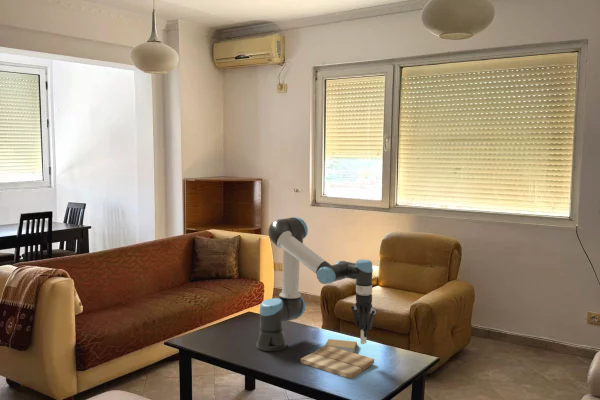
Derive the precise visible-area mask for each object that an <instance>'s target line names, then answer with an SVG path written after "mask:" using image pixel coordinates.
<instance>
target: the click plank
mask: <svg viewBox="0 0 600 400" xmlns="http://www.w3.org/2000/svg"><path fill="white" fill-rule="evenodd" d="M312 353H314V354H317V355H321V356H324V357H327V358H331V359H334V360H337V361H340V362H344V363H347V364H350V365H354V366H357V367H360V368H362V372H361V373H363V372H364V371H365V370H367V369H368V368H369V367H371V366H372V365H374V364H375V358H372V357H370V356H369V357H368V356H365V355H362V354H358V353H355V352H354V353H352V352H348V351H345V350H341V349H338V348H334V347H331V346H327V345H325V344H324V345H323V346H321V347H319V348H318V349H317V350H315V351H313V352H312Z"/></svg>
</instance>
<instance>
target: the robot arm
mask: <svg viewBox="0 0 600 400" xmlns="http://www.w3.org/2000/svg"><path fill="white" fill-rule="evenodd" d="M267 230H268V232H267V234H268V236H269V237H268V238H269V239H270V241H271V242H272V243H273V244H274V246H276V247H277V248H279V249H282V251H283V252H282V283H281V284H282V285H281V287H282V288H281V290H282V291H281V292H280V293H279V294H278V295H279V296H278V297H275V298H274V297H273V298H267V299H264V300H263V301H261V303H260V305H259V311H258V313H259V334H258V336H257V340H256V348H257V349H258V350H260V351H263V352H277V351H281V350H284V349H286V347H287V340H286V338H285V332H284V328H283V327H284V323H287V322H290V321H293V320H296V319H298V318H300V317H302V316H303V315H304V313H305V311H306V302H305V301H304V300H305V299H304V297H302V293H300V291H299V287H300V285H299V284H300V282H299V281H300V263H301V264H303V265H304V266H305V267H306V268H308V269H309V270H310V271H312V272H313V273H314V274H316V279H317V280H318V282H319V283H320V284H323V285H326V284H327V285H328V284H332V283H334V282H338V281H341V280H345V279H351V280H355V293H356V294H355V304H354V305H352V306H351V307H350V309H351V311H352V314H353V320H354V324H355V328H358V331H359V332H358V335H359V336H360V344H361V345H365V344H366V343H367V337H368V336H369V330H372V329H373V325H374V320H375V316H376V315H377V312H378V310H377V309H375V308H373V304H372V303H373V271H374V270H373V262H372V261H371V260H369V259H357V260H356V262H350V261H345V260H338V261H336V262H335V263H334V264H331V263H330V262H328V261H326V259H324V258H322V257H321V256H319V254H317V253H316V252H314V250H312V249H310V248H309V247H308V246H306V245H305V244H304V239H305V238H306V237H307V236H308V233H309V232H308V231H309V230H308V226H307V223H306V222H305V220H304V219H303V218H301V217H292V216H291V217H288V218H280V219H279V218H278V219H276V220H274V221H273V222H271V224H270V225H269V227H268V229H267Z"/></svg>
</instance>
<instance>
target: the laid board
mask: <svg viewBox="0 0 600 400" xmlns="http://www.w3.org/2000/svg"><path fill="white" fill-rule="evenodd" d="M300 363H301V364H304V365H305V366H309V367H312V368H315V369H318V370H322V371H325V372H328V373H331V374H334V375H337V376H340V377H343V378H346V379H350V380H351V379H353V378H354V377H356V376H358V375H360V374H361V373H363V372H362V368H360V367H357V366H354V365H350V364H347V363H344V362H340V361H337V360H334V359H331V358H327V357H324V356H321V355H317V354H314V353H313V352H312V353H310V354H307V355H305V356H303V357H301V358H300Z"/></svg>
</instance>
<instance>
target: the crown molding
mask: <svg viewBox="0 0 600 400" xmlns="http://www.w3.org/2000/svg"><path fill="white" fill-rule="evenodd" d="M325 345H327V346H331V347H334V348H338V349H341V350H345V351H348V352H352V353H355V352H356V348H357V347H358V343H357V341H353V340H343V339H333V338H328V339H327V341H326V343H325V344H324V346H325Z"/></svg>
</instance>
